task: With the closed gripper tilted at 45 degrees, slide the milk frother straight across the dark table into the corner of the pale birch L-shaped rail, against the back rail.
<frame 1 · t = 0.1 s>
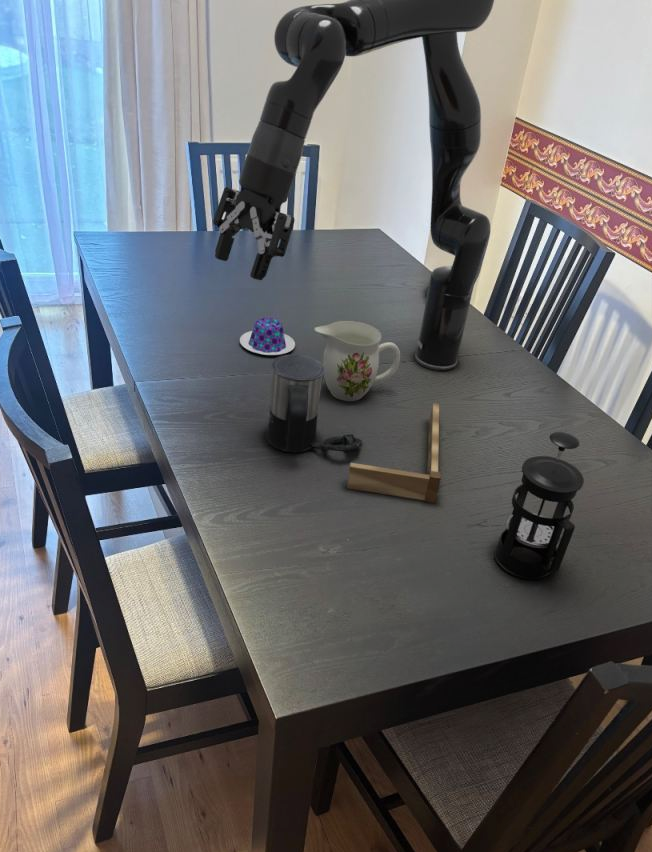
hand: (237, 269, 121), 31 cm above the table, tool tilted 20°, fingers open, 8 cm apart
french press: (524, 563, 123), on the table
corner rail: (432, 460, 143), on the table
pitcher: (351, 393, 159), on the table
milk frother: (312, 445, 142), on the table
pudding: (267, 346, 171), on the table
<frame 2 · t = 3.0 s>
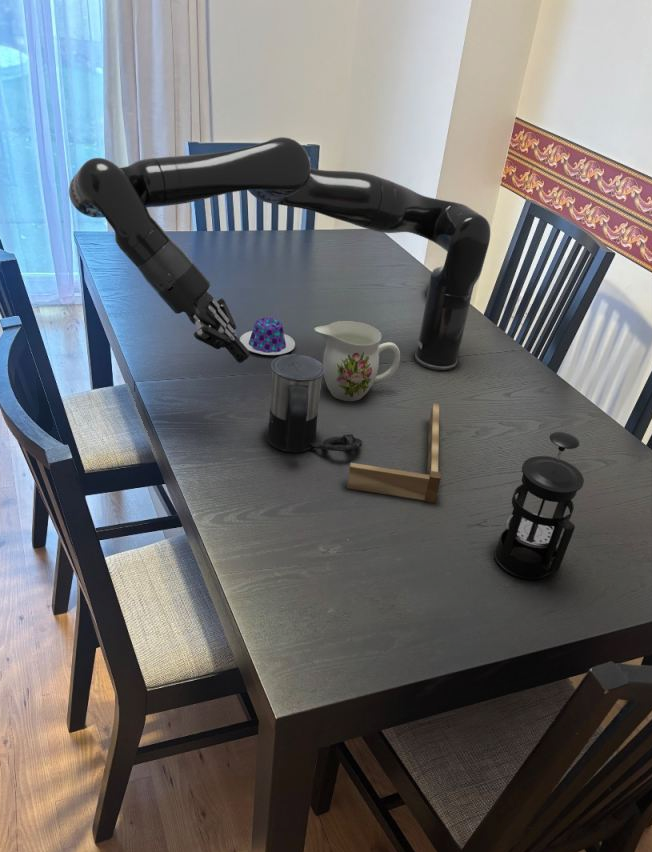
hand: (245, 358, 133), 15 cm above the table, tool tilted 45°, fingers closed
nothing on the table moved.
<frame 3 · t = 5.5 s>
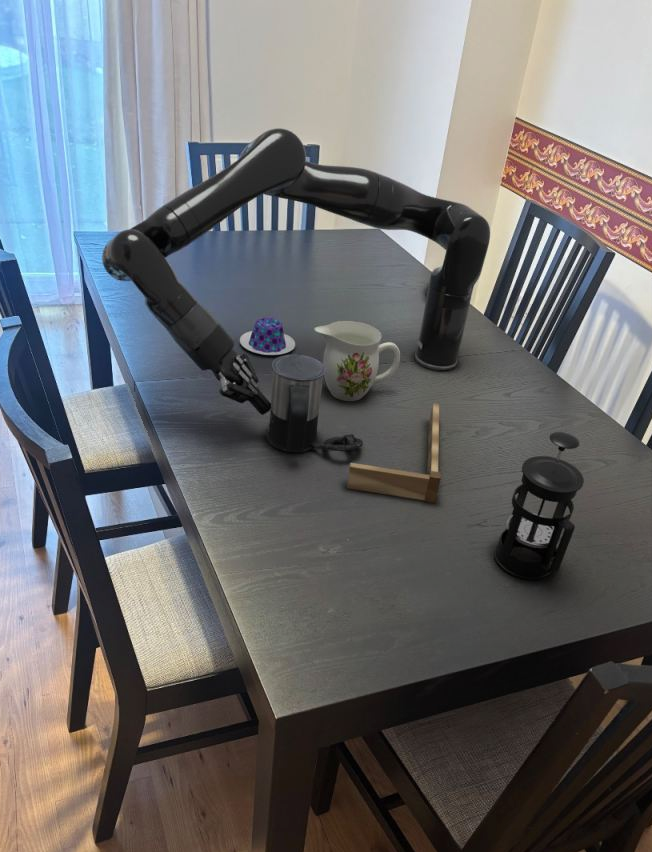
hand: (267, 410, 139), 5 cm above the table, tool tilted 45°, fingers closed
milk frother: (313, 445, 142), on the table, touching gripper
everything else where it was.
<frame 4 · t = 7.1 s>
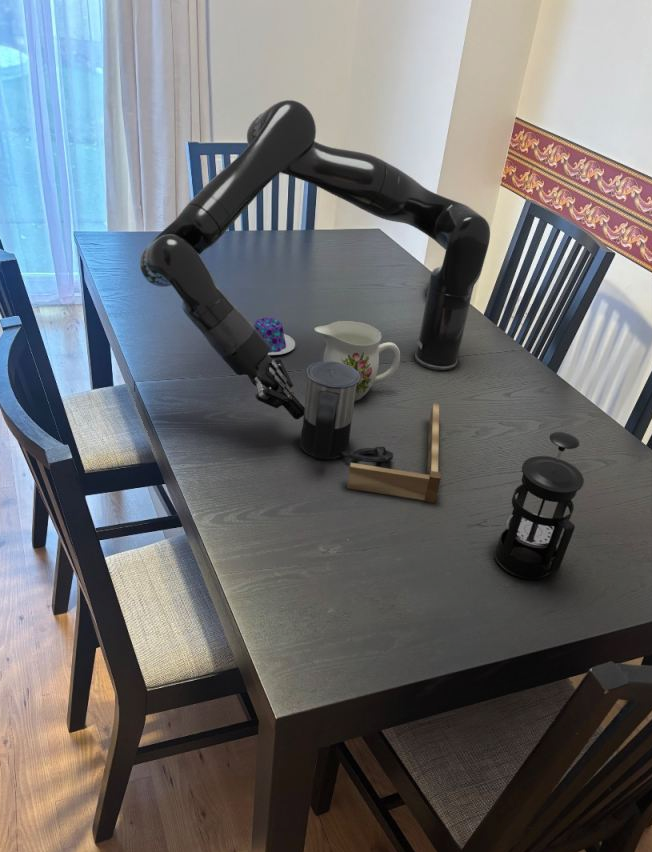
hand: (301, 415, 139), 6 cm above the table, tool tilted 45°, fingers closed
milk frother: (344, 453, 141), on the table, touching gripper
everything else where it was.
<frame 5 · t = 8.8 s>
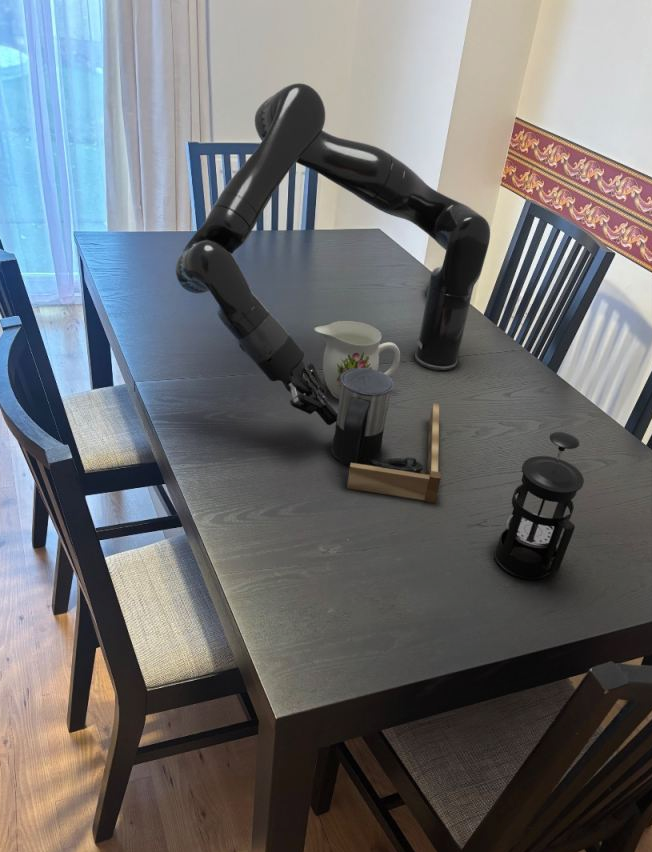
hand: (333, 421, 139), 5 cm above the table, tool tilted 45°, fingers closed
milk frother: (375, 462, 141), on the table, touching gripper
everything else where it was.
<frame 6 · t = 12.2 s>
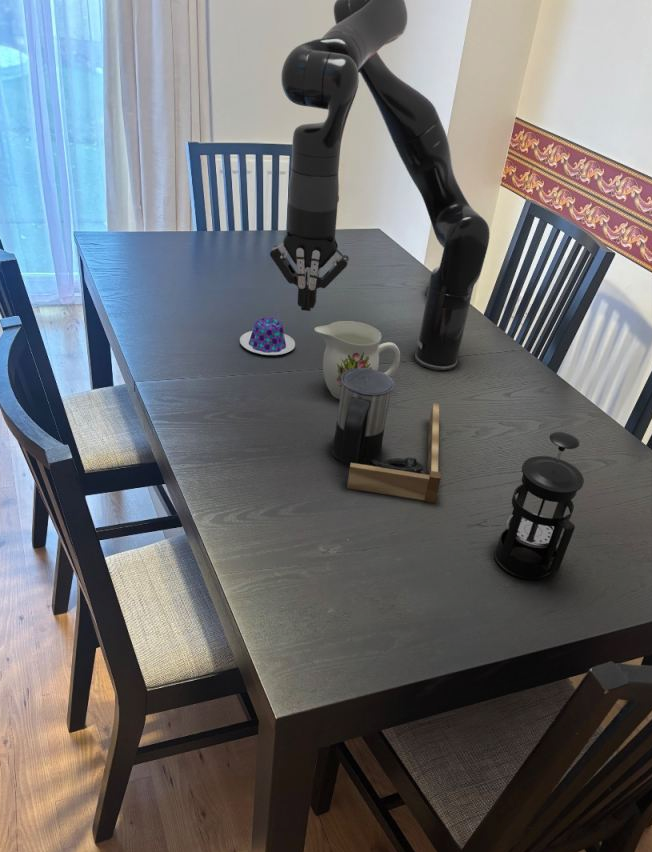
hand: (306, 308, 130), 24 cm above the table, tool pointing down, fingers closed
milk frother: (375, 462, 141), on the table
everything else where it was.
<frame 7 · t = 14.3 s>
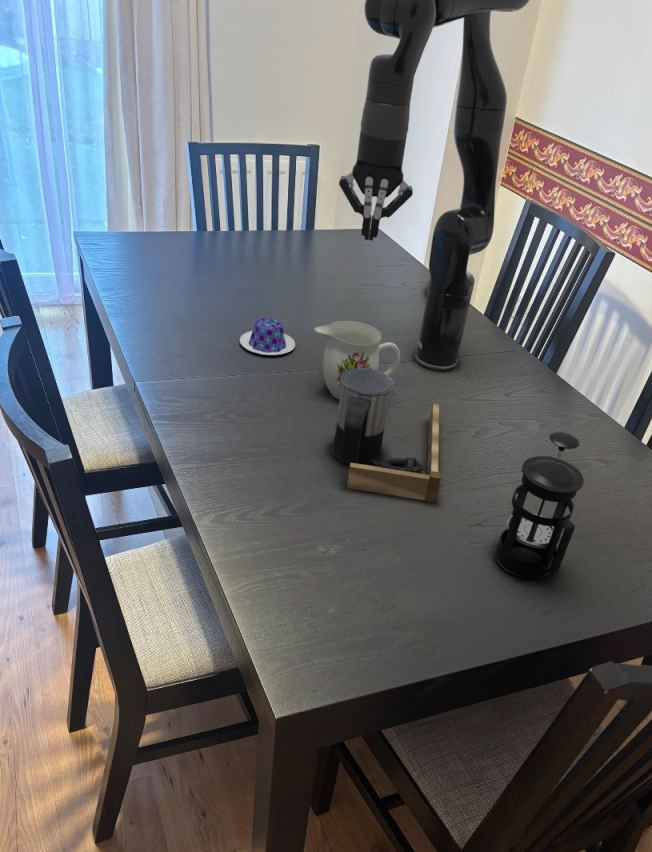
hand: (368, 238, 136), 32 cm above the table, tool pointing down, fingers closed
nothing on the table moved.
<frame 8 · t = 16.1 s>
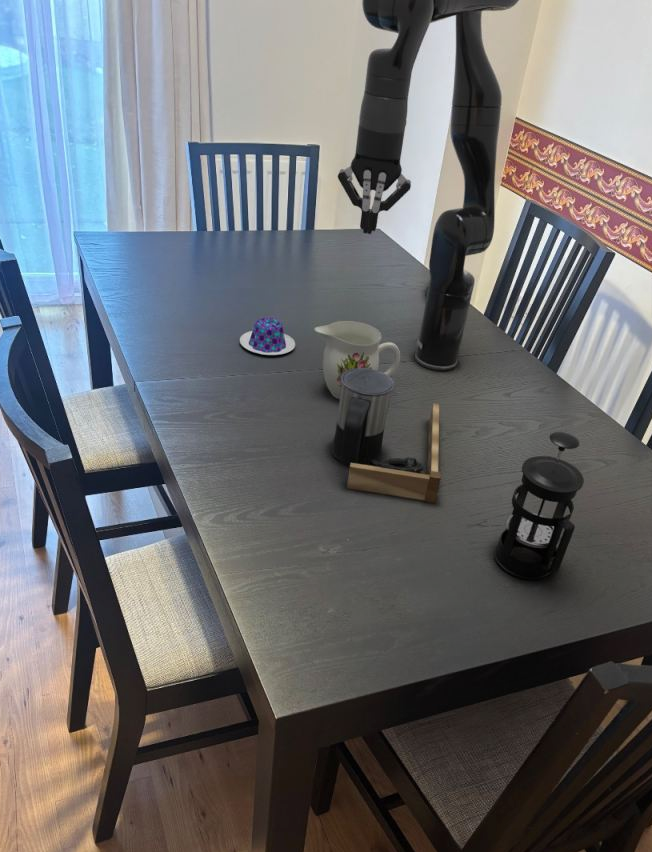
hand: (367, 232, 137), 33 cm above the table, tool pointing down, fingers closed
nothing on the table moved.
at the end: milk frother inside the target area (2.6 cm from its centre), on the table; milk frother tilted 0°; milk frother moved 11.9 cm from its start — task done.
